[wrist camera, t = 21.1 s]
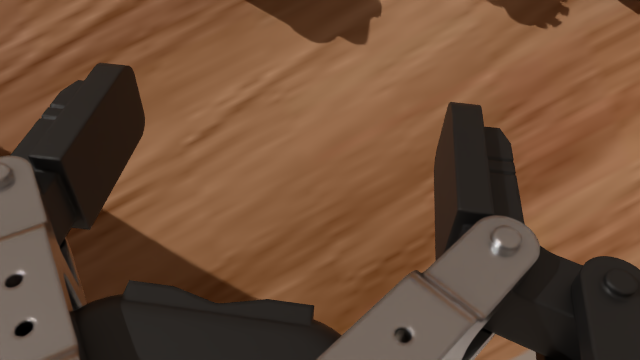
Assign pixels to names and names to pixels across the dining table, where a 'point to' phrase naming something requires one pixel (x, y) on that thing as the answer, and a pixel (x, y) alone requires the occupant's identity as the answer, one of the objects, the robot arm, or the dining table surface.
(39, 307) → the robot arm
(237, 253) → the dining table surface
